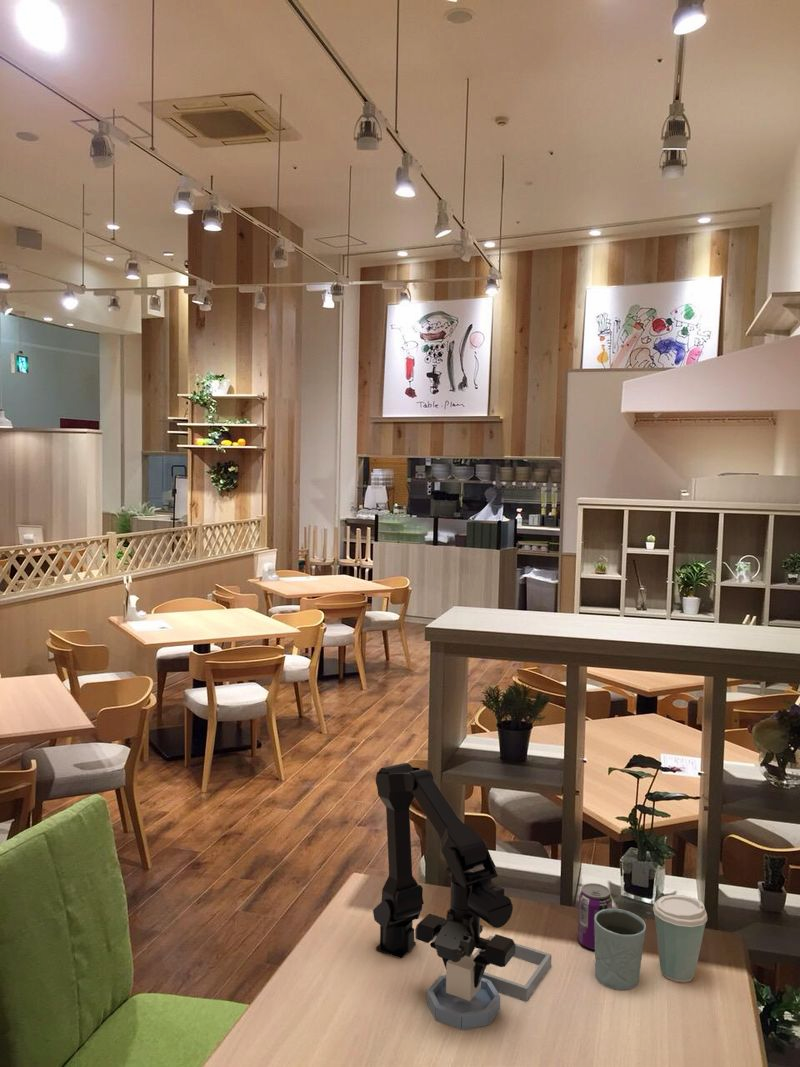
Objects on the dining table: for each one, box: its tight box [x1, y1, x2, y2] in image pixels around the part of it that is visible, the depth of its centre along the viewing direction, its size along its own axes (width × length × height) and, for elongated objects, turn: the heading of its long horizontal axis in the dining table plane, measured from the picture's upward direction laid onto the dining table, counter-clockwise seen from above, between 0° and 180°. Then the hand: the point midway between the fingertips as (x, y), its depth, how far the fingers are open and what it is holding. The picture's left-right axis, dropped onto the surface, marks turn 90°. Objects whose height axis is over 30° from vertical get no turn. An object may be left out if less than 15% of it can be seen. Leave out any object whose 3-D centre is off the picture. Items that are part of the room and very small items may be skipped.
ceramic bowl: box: [426, 974, 502, 1031], centre depth 161 cm, size 13×13×2 cm
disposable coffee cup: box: [652, 894, 708, 984], centre depth 172 cm, size 11×11×15 cm
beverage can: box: [577, 882, 613, 950], centre depth 183 cm, size 7×7×12 cm
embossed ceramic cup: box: [594, 908, 647, 991], centre depth 170 cm, size 10×10×12 cm
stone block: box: [445, 953, 481, 1001], centre depth 160 cm, size 5×5×6 cm
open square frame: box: [473, 935, 552, 1002], centre depth 172 cm, size 14×14×2 cm
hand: (463, 982), depth 160 cm, fingers closed on stone block, 5 cm apart
